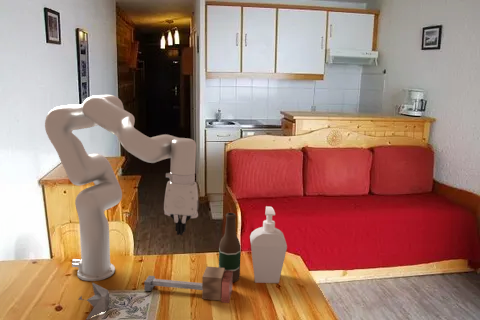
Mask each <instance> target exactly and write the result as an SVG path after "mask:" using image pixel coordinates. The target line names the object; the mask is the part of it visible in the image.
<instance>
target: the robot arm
mask: <svg viewBox="0 0 480 320" xmlns="http://www.w3.org/2000/svg"><path fill="white" fill-rule="evenodd" d="M135 120H136V119H135V116H134V115H133V114H132V113H130V112H129V111H127V110H125V108H124V104H123V102H122V100H121V99H120V98H119V97H117V96H116V95H113V94H99V95H92V96H89V97H87V98H86V99H85V100H84V101H83V103H81V104H78V103H77V104H67V105H60V106H56V107H54V108H53V109H50V111H49V112H48V113H47V115H46V116H45V120H44V129H45V133H46V135H47V138H48V140H49V141H50V142H51V144H52V146H53V148H54V149H55V151H56V153H57V155H58V158H59V160H60V162H61V164H62V167H63V169H64V171H65V173H66V175H67V177H68V181H70V183H72V184H73V185H74V186H83V185H84V186H85V185H88V184H91V183H93V184H94V185H92V186H89V187H86V188H84V189H83V190H81V191H80V192H79V193H78V194H77V195H76V196H75V202H74V204H75V205H74V206H75V209H76V213H77V217H78V223H79V235H80V237H79V238H80V254H81V255H80V257H81V258H80V259H79V258H73V259H72V261H71V267H72V268H77V269H78V270H77V278H78V279H80V280H82V281H85V282H95V281H96V282H97V281H102V280H105V279H107V278H110V277H111V276H113V275H114V273H115V271H116V267H115V265H114V264H112V263H111V250H110V249H111V248H110V247H111V246H110V245H111V244H110V243H111V242H110V226H109V220H108V218H107V216H106V215H105V211H107V210H110V209H112V208H113V207H115V206H116V205H118V204H119V203H120V202H121V201H122V199H123V198H122V197H123V191H122V188H121V185H120V182H119V180H118V178H117V176H116V174H115V171H114V169H113V167H112V165H111V163H110V161H109V160H108V159H107V157H105V156H104V155H103V154H100V153H91V154H88V153H87V151H86V149H85V147H84V145H83V142H82V141H81V140H80V139H79V137H78V136H76V134H74V133H73V131H76V130H77V131H78V130H83V129H88V128H93V127H97V126H99V127H101V128H103V129H104V130H105V131H107V132H108V133H111V134H113V135H114V136H116V137H117V139H118V141H119V143H120V144H121V146H122V147H123V149H124V150H125V151H127V152H128V153H130V154H131V155H133V156H134V157H135V158H138V159H139V160H141V161H143V162H146V163H151V164H155V163H157V162H160V161H163V160H166V159H167V160H168V159H170V172H166V173H165V178H167V179H169V180H168V181H167V183H166V187H165V193H164V201H163V211H164V215H165V216H168V217H171V218H172V220H173V222H174V223H175V230H174V231H175V232H176V235H177V236H178V235H180V236H182V235H183V234H184V233H185V232H186V231H187V230H186V229H187V222H188V221H189V220H190V219H197V218H198V217H199V213H198V210H199V192H198V184H197V182H196V180H195V179H196V177H195V176H196V175H195V174H196V159H197V156H196V155H197V143H196V141H195V139H194V140H193V139H192V138H188V137H187V138H185V137H178V136H174V135H170V134H159V135H156V136H152V137H149V136H147V135H145V134H144V133H142V132H141V131H139V130H138V129H136V128H135V127H134V126H135ZM181 216H182V217H181ZM181 218H182V219H181Z"/></svg>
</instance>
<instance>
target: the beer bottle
mask: <svg viewBox="0 0 480 320" xmlns="http://www.w3.org/2000/svg"><path fill="white" fill-rule="evenodd" d="M236 218H237V215H236V213H234V212H227V213H226V214H225V219H226V220H225V227H224V234H223V236H222V237H221V239H220V241H219V247H218V267H219V268H225V271H226V270H230V271H233V279H232V283H235V282H237V281H238V280H239V279H240V278H241V277H240V275H241V257H242V256H241V251H242V250H241V249H242V247H241V246H242V245H241V242H240V240H239V238H238V236H237V232H236V231H237V230H236V229H237V228H236V227H237V226H236Z"/></svg>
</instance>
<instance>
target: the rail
mask: <svg viewBox="0 0 480 320" xmlns="http://www.w3.org/2000/svg"><path fill="white" fill-rule="evenodd" d="M155 277H156V276H154V275H148V276H147V278H146V279H145V280H144V285H143V286H144V292H145V291H151V290H152V291H153V289H154V288H155V287H164V288H175V289H187V290H195V291H196V290H198V291H202V282H195V281H194V282H193V281H184V280H182V281H181V280H172V279H164V278H163V279H161V278H155ZM232 279H233V271H230V270H226V271H225V274H224V277H223V280H222V294H221V300H220V302H221V303H223V304H224V303H225V304H226V303H227V304H229V303H230V300H231V296H232V292H233V282H232ZM152 291H151V292H152Z"/></svg>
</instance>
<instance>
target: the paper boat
mask: <svg viewBox="0 0 480 320" xmlns="http://www.w3.org/2000/svg"><path fill="white" fill-rule="evenodd" d="M91 285H92V289H93V290H92V291H93V293H94V295H92V296H91V297H89V298H87V299H86V301H87V302H88V303H89V304H90V305H91V306H92V307H93V308H92V310H91V311H90V312H89V314H88V315H87V318H86V319H85V320H90V318H91V317H92V316H94V315H97V314H99V313H101V312H105V311H106V310H107V311H108V309H109V306H110V304H111V299H110V292H109V289H106V288H104V287H102V286H101V285H98V284H97V283H94V281H91ZM82 296H83V295H81V296H80V297H79V298H78V300H81V301H84V299H83V297H82ZM91 319H92V318H91Z"/></svg>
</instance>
